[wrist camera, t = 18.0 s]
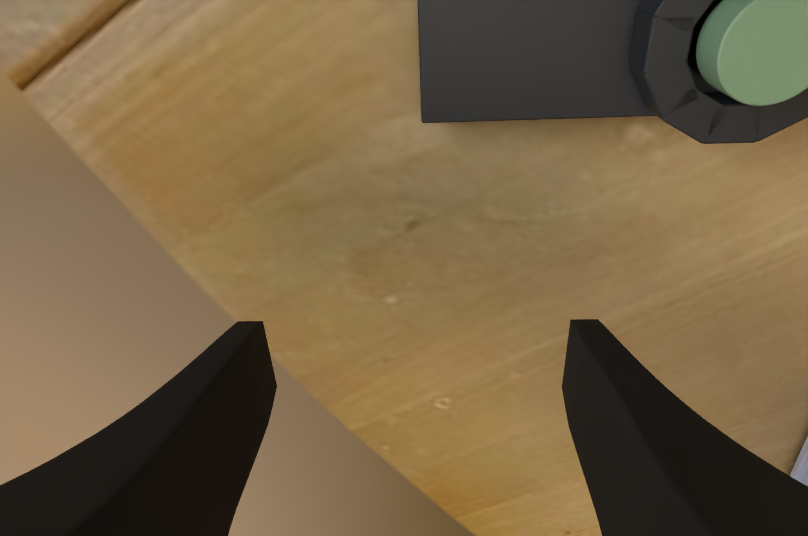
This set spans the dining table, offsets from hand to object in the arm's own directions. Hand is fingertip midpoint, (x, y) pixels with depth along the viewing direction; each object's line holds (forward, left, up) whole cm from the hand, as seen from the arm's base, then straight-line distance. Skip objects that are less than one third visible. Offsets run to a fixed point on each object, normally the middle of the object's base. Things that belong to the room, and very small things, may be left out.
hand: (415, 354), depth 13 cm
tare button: (+6, -10, -7) cm, 13 cm away
